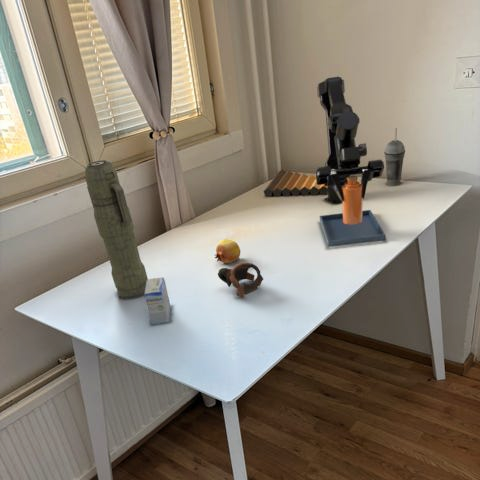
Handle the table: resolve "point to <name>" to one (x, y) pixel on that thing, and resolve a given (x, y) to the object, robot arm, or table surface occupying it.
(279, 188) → the pan flute
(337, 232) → the blue rectangular tray
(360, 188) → the orange bottle
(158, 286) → the medicine box
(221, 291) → the table surface
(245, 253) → the table surface
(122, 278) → the thermos
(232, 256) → the fruit
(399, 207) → the table surface
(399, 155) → the beverage cup
